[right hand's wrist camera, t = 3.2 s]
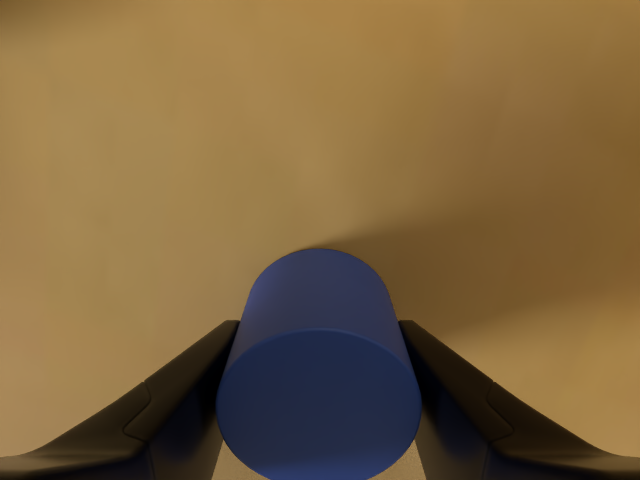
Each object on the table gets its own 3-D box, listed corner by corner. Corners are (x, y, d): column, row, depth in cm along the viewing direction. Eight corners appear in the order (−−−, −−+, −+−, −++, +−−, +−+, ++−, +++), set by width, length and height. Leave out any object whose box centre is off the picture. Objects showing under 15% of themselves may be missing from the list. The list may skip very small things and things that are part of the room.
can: (254, 237, 12) (222, 313, 8) (406, 259, 12) (447, 344, 8) (240, 363, 13) (208, 479, 9) (374, 380, 13) (396, 500, 10)
